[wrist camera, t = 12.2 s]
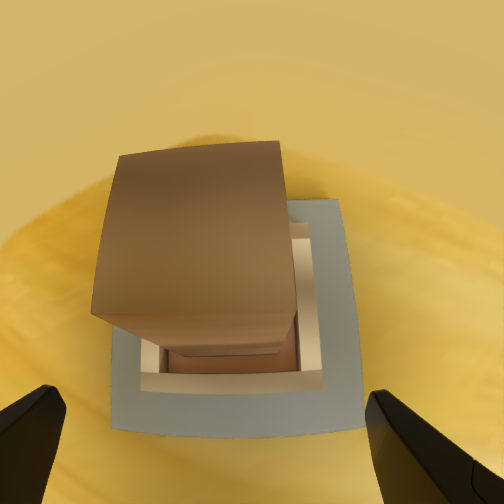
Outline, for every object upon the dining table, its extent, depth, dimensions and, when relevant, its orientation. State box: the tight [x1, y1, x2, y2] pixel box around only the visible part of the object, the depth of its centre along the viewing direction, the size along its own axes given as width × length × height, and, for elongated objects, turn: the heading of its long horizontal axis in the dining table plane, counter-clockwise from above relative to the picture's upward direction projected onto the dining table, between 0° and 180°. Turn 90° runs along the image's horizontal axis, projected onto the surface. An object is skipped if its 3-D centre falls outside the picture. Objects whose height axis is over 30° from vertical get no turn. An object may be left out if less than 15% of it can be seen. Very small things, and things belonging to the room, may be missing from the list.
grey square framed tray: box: [111, 199, 365, 438], centre depth 17 cm, size 14×14×3 cm
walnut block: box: [91, 141, 297, 357], centre depth 13 cm, size 5×5×10 cm
